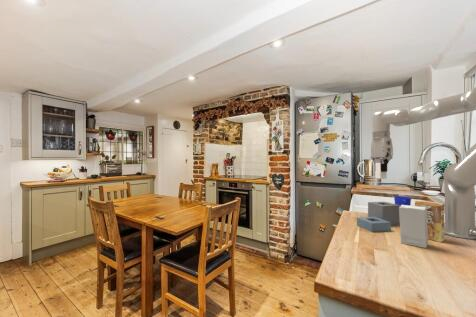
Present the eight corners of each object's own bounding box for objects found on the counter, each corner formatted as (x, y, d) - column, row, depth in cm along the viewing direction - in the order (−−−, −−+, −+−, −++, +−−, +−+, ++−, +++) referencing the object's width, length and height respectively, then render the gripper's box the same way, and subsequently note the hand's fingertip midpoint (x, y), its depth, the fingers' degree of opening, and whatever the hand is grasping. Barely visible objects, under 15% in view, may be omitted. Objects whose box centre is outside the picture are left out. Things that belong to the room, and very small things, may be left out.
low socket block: (390, 230, 103) (390, 222, 103) (371, 231, 101) (371, 223, 101) (374, 224, 113) (374, 216, 113) (356, 225, 111) (356, 217, 111)
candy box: (444, 240, 91) (444, 203, 91) (441, 242, 88) (441, 204, 88) (418, 234, 98) (418, 200, 98) (414, 236, 96) (414, 201, 96)
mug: (396, 216, 129) (396, 198, 129) (393, 211, 140) (393, 195, 140) (414, 217, 125) (414, 200, 125) (409, 212, 136) (409, 196, 136)
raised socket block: (400, 225, 111) (400, 205, 111) (382, 226, 110) (382, 206, 110) (384, 219, 121) (384, 201, 121) (368, 220, 120) (367, 202, 120)
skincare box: (428, 244, 86) (428, 206, 86) (426, 249, 82) (426, 209, 82) (402, 239, 92) (401, 203, 92) (398, 243, 88) (398, 206, 88)
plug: (386, 178, 112) (386, 159, 112) (380, 178, 112) (380, 159, 112) (381, 177, 116) (381, 158, 116) (375, 178, 115) (375, 158, 115)
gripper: (401, 134, 106) (401, 172, 106) (375, 137, 122) (375, 170, 122) (387, 134, 105) (386, 172, 105) (363, 137, 121) (363, 170, 121)
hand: (380, 171), depth 114 cm, fingers closed on plug, 3 cm apart
